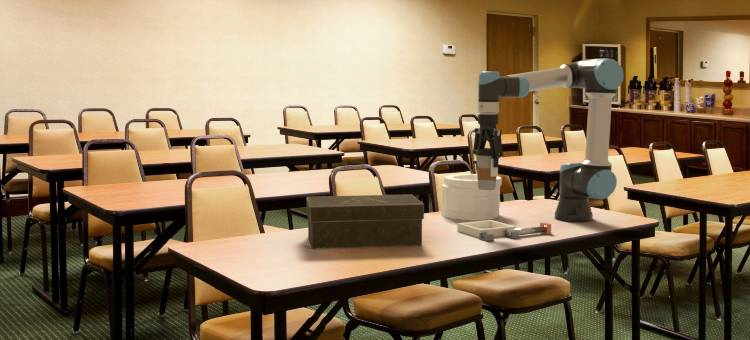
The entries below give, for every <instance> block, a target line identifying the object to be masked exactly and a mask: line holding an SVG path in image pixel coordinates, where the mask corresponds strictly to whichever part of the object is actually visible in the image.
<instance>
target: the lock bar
mask: <svg viewBox="0 0 750 340" xmlns="http://www.w3.org/2000/svg"><path fill="white" fill-rule="evenodd" d="M513 231H519V236H525V235H535V234H536V235H537V234H545V235H551V234H552V223H547V222H540V223H539V226H532V227H522V228H516V229H512V230H507V231H506V234H507V236H508V237H510V236H511V232H513ZM508 237H507V238H508Z"/></svg>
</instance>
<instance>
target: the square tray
mask: <svg viewBox="0 0 750 340" xmlns="http://www.w3.org/2000/svg"><path fill="white" fill-rule="evenodd" d="M456 225H457V227H456V228H457V230H456V231H457V232H458V233H462V234H466V235H468V236H472V237H475V238H478V239H479V233H480V232H488V233H487V234H494V238H496V237H505V236H504V230H508V229H517V227H516V226H515V225H512V224H508V223H504V222H501V221H496V220H494V219H488V220H475V221H469V222H468V221H467V222H458V223H457V224H456Z"/></svg>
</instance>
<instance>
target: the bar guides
mask: <svg viewBox="0 0 750 340" xmlns="http://www.w3.org/2000/svg"><path fill="white" fill-rule="evenodd" d="M508 230H512V229H508ZM506 231H507V230H504V236H503V237H504V238H508V236H507V234H506ZM487 233H488V232H480V233H479V238H478V239H479V240H481V241H485V242H494V241H495V237H494V234H487ZM519 238H520V235H519V231H513V232H511V236H510V237H509V238H508V239H519Z"/></svg>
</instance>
